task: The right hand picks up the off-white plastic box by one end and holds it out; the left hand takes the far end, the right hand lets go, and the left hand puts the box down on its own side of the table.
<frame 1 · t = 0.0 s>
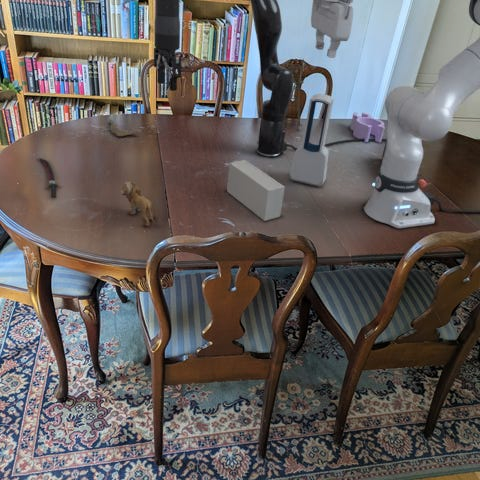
left hand: (166, 86, 148), 29 cm above the table, tool pointing down, fingers open, 8 cm apart
right hand: (324, 53, 120), 48 cm above the table, tool pointing down, fingers open, 8 cm apart
box: (252, 203, 149), on the table
lion figurine: (139, 216, 136), on the table
sword: (47, 177, 151), on the table
miniature windmill: (290, 126, 216), on the table
jawbone: (124, 129, 193), on the table
electronic device: (306, 181, 167), on the table
clip: (364, 134, 216), on the table
handheld gaming console: (390, 171, 182), on the table
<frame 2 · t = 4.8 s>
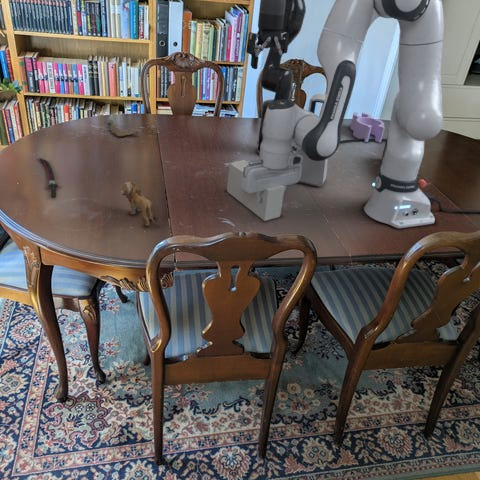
left hand: (265, 68, 148), 37 cm above the table, tool pointing down, fingers open, 8 cm apart
right hand: (268, 200, 142), 5 cm above the table, tool pointing down, fingers closed on box, 6 cm apart
box: (252, 203, 149), on the table, touching right hand
everything else where it was.
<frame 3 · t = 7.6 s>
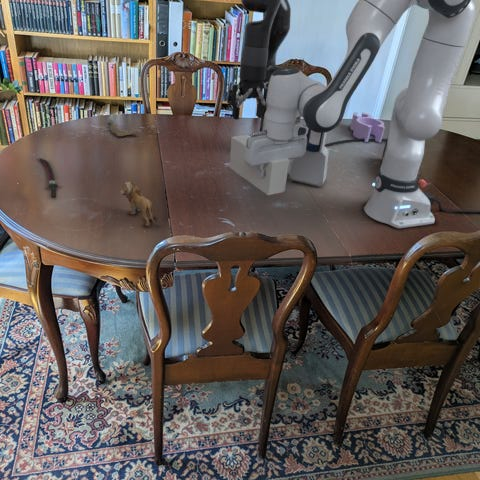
left hand: (247, 117, 142), 25 cm above the table, tool pointing down, fingers open, 8 cm apart
right hand: (272, 174, 137), 14 cm above the table, tool pointing down, fingers closed on box, 6 cm apart
box: (255, 178, 145), point 9 cm above the table, touching right hand
everything else where it was.
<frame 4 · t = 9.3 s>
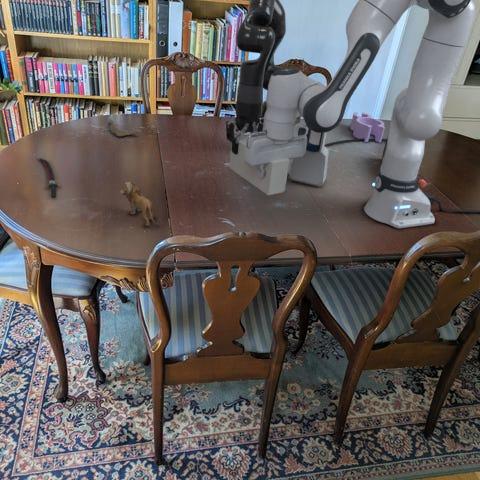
left hand: (244, 151, 147), 15 cm above the table, tool pointing down, fingers closed on box, 6 cm apart
right hand: (272, 174, 137), 14 cm above the table, tool pointing down, fingers closed on box, 6 cm apart
box: (255, 179, 145), point 9 cm above the table, touching left hand, right hand
everything else where it was.
when the right hand's fingers open (14 cm above the table, at t = 10.4 s): box moves 2 cm, held by the left hand.
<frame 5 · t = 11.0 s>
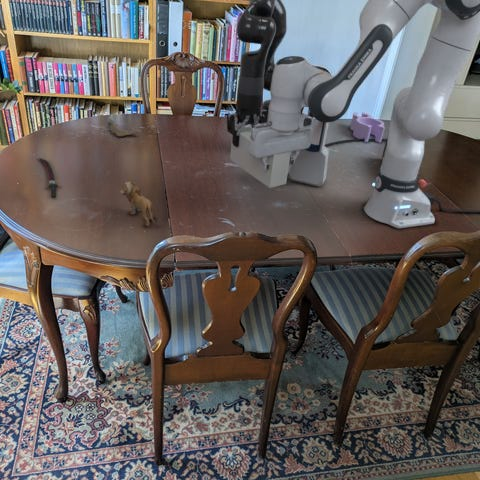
left hand: (244, 144, 145), 17 cm above the table, tool pointing down, fingers closed on box, 6 cm apart
right hand: (278, 166, 134), 17 cm above the table, tool pointing down, fingers open, 8 cm apart
box: (256, 171, 144), point 11 cm above the table, touching left hand
everything else where it was.
when the left hand's fingers open (7 cm above the table, at t = 17.6 s): box stays where it is, on the table.
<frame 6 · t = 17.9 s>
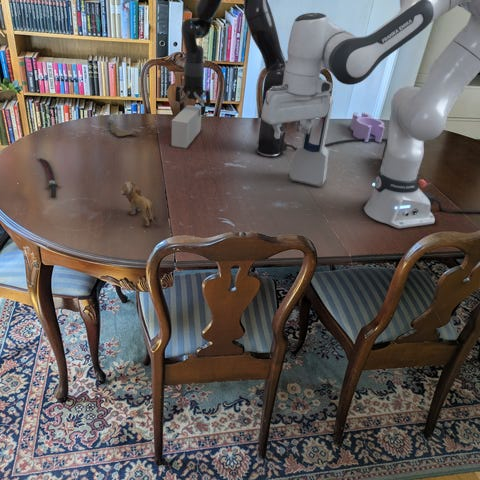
left hand: (192, 113, 194), 8 cm above the table, tool pointing down, fingers open, 8 cm apart
right hand: (291, 135, 125), 28 cm above the table, tool pointing down, fingers open, 8 cm apart
box: (186, 137, 192), on the table
everything else where it was.
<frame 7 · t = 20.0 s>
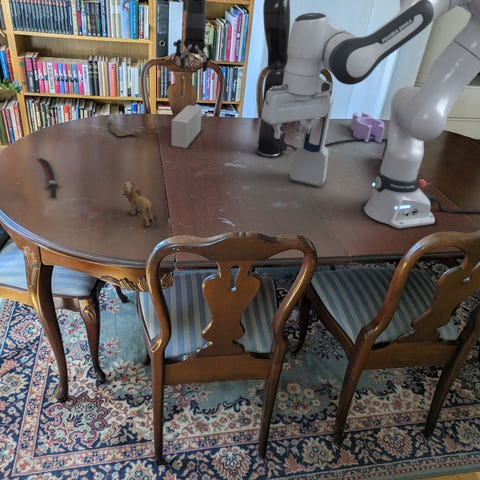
left hand: (193, 69, 184), 26 cm above the table, tool pointing down, fingers open, 8 cm apart
right hand: (291, 135, 125), 28 cm above the table, tool pointing down, fingers open, 8 cm apart
nothing on the table moved.
at the end: box inside the target area (7.4 cm from its centre), on the table; the left hand is holding nothing; the right hand is holding nothing; box at rest at the end (0.0 cm/s) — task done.
